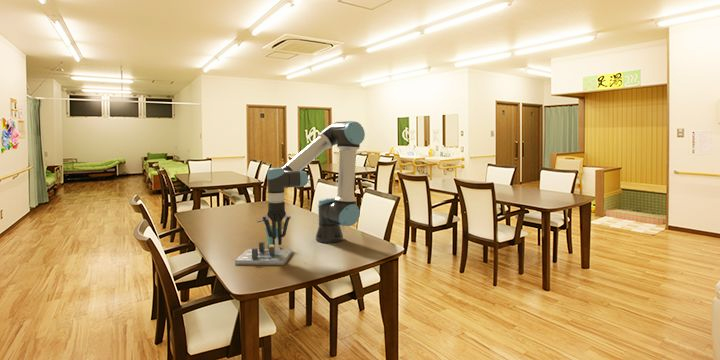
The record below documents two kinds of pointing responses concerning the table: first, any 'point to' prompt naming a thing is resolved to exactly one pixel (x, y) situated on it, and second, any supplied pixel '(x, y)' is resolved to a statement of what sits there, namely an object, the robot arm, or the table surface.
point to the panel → (263, 256)
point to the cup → (270, 239)
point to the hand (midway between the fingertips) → (277, 251)
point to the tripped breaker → (271, 249)
